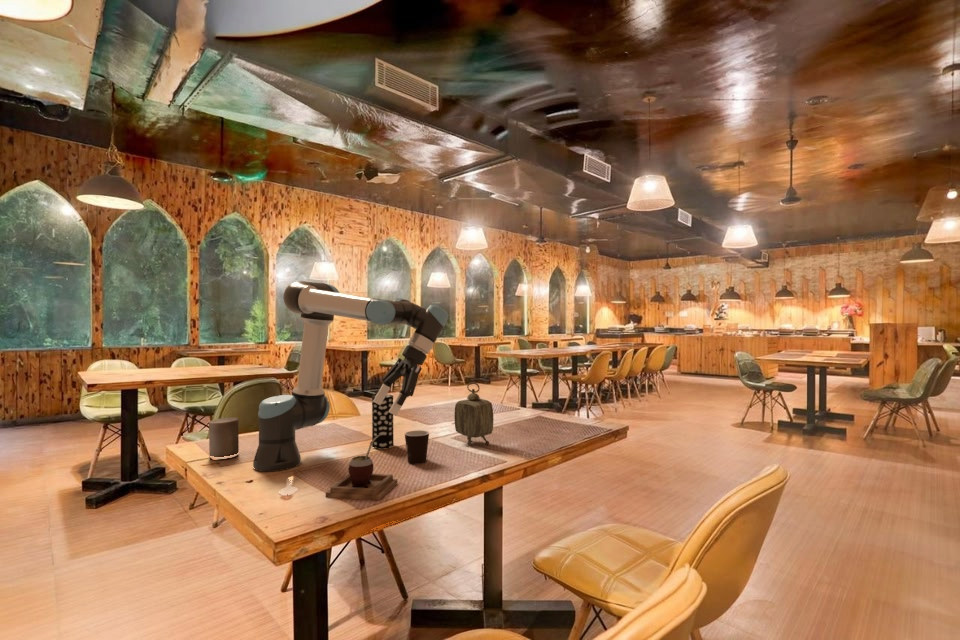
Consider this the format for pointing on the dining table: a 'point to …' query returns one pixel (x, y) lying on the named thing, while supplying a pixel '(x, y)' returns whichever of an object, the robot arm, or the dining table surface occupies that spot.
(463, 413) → the tabletop clock
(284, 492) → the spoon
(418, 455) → the coffee mug
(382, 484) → the walnut stand
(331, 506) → the dining table surface
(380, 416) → the spotted tube
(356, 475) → the mate gourd
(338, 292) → the robot arm
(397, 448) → the dining table surface
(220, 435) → the pillar candle
